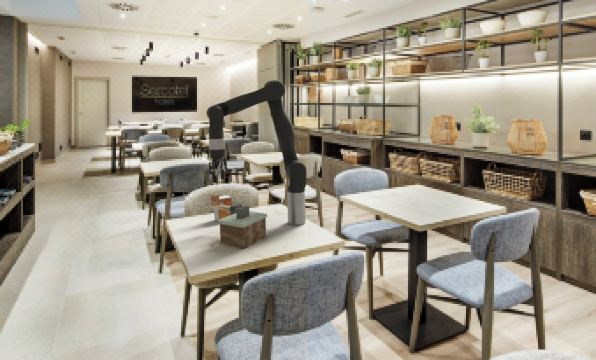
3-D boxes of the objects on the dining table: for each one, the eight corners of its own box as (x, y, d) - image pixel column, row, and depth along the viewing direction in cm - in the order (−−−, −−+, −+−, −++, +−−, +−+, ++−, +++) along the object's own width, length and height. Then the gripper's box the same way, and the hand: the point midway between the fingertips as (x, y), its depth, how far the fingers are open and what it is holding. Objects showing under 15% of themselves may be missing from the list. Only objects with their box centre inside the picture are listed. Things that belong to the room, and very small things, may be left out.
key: (215, 206, 214) (214, 194, 213) (239, 210, 207) (238, 197, 205) (211, 208, 211) (210, 195, 210) (235, 211, 204) (234, 198, 203)
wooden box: (238, 232, 211) (237, 203, 208) (266, 237, 203) (265, 207, 200) (215, 243, 196) (213, 212, 193) (243, 248, 188) (242, 217, 185)
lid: (243, 215, 208) (242, 201, 207) (267, 218, 202) (266, 204, 200) (218, 225, 192) (217, 210, 191) (243, 229, 185) (242, 214, 184)
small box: (218, 222, 227) (217, 199, 225) (214, 220, 232) (213, 196, 230) (232, 220, 232) (231, 197, 229) (227, 217, 237) (226, 194, 234)
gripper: (217, 149, 195) (219, 184, 199) (230, 146, 209) (232, 178, 212) (202, 149, 198) (204, 183, 201) (216, 146, 211) (218, 177, 214)
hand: (218, 180), depth 206 cm, fingers open, 8 cm apart
